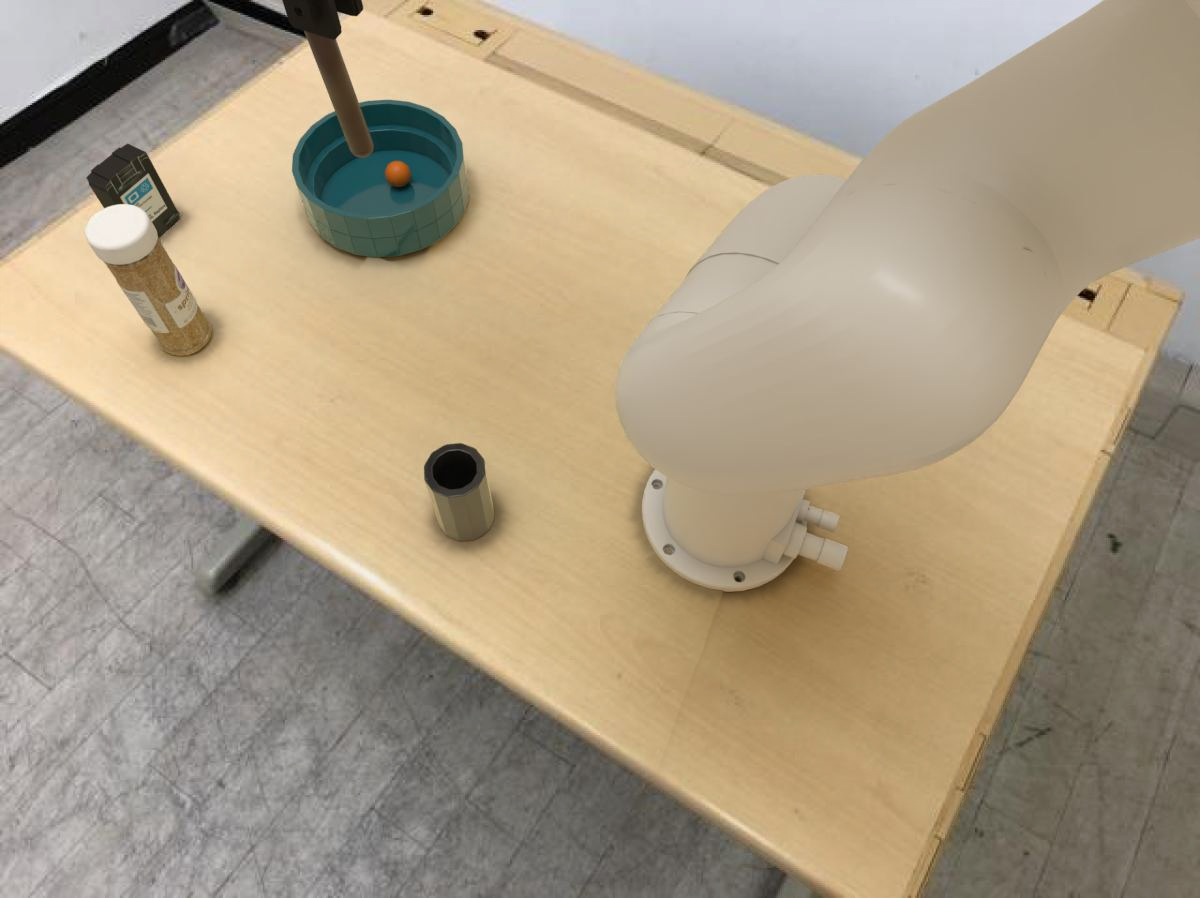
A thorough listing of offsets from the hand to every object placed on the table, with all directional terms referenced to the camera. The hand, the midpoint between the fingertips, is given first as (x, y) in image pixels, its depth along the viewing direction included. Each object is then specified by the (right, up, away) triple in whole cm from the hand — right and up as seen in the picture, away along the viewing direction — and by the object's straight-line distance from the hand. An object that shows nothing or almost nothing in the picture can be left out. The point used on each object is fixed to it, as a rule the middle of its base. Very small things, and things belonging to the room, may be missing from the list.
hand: (327, 17), depth 51 cm
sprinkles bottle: (-20, -15, +25) cm, 35 cm away
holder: (+6, -30, +17) cm, 35 cm away
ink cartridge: (-26, -5, +31) cm, 40 cm away
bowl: (-4, -1, +33) cm, 33 cm away
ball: (-3, +1, +33) cm, 33 cm away
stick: (0, -5, +9) cm, 10 cm away
